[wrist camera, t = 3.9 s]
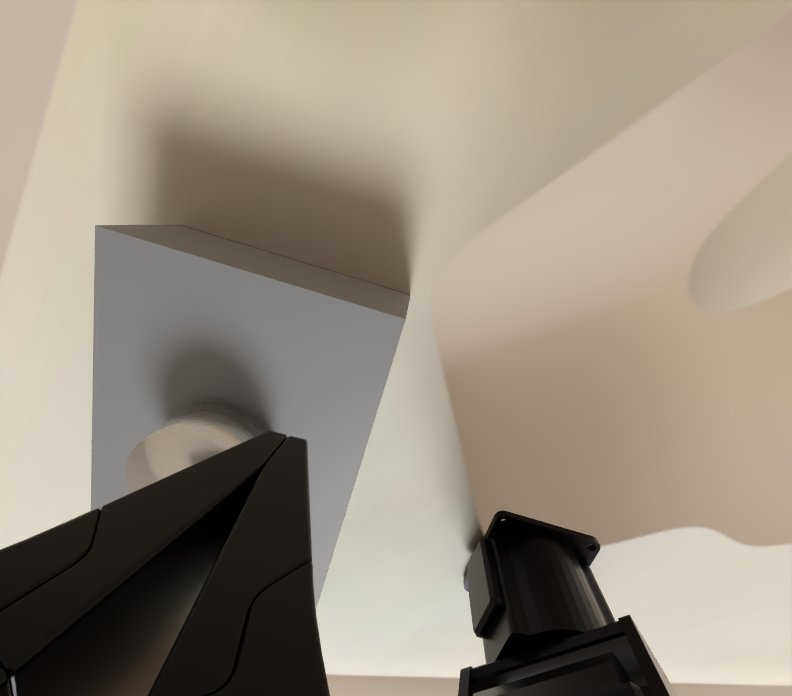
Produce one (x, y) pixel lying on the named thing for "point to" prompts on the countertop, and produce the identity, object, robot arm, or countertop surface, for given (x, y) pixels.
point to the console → (237, 355)
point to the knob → (188, 441)
